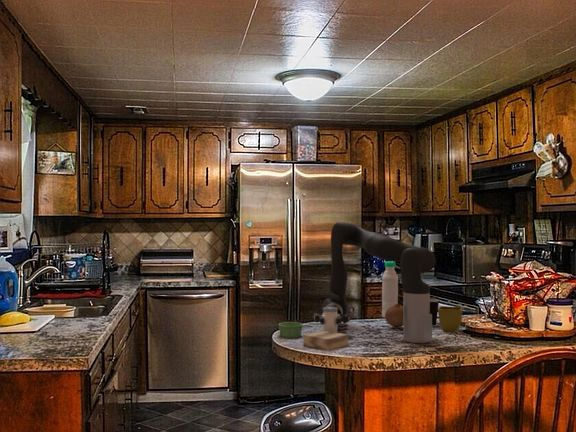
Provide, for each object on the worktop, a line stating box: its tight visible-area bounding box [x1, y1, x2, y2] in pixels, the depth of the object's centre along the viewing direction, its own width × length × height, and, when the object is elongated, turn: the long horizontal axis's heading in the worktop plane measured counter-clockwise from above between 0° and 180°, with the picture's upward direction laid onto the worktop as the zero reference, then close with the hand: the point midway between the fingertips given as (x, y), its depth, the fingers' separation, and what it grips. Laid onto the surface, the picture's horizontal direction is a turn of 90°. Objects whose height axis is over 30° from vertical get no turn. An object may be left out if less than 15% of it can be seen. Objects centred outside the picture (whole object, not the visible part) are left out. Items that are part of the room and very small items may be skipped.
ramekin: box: [278, 321, 304, 339], centre depth 206 cm, size 9×9×4 cm
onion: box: [384, 303, 403, 329], centre depth 222 cm, size 10×9×10 cm
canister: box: [322, 307, 338, 333], centre depth 202 cm, size 5×5×11 cm
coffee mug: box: [430, 298, 440, 327], centre depth 232 cm, size 12×9×10 cm
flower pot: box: [437, 305, 463, 333], centre depth 217 cm, size 9×9×9 cm
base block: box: [302, 329, 349, 351], centre depth 190 cm, size 11×11×4 cm
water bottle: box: [381, 260, 399, 319], centre depth 248 cm, size 7×7×25 cm
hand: (330, 321), depth 199 cm, fingers closed on canister, 5 cm apart
